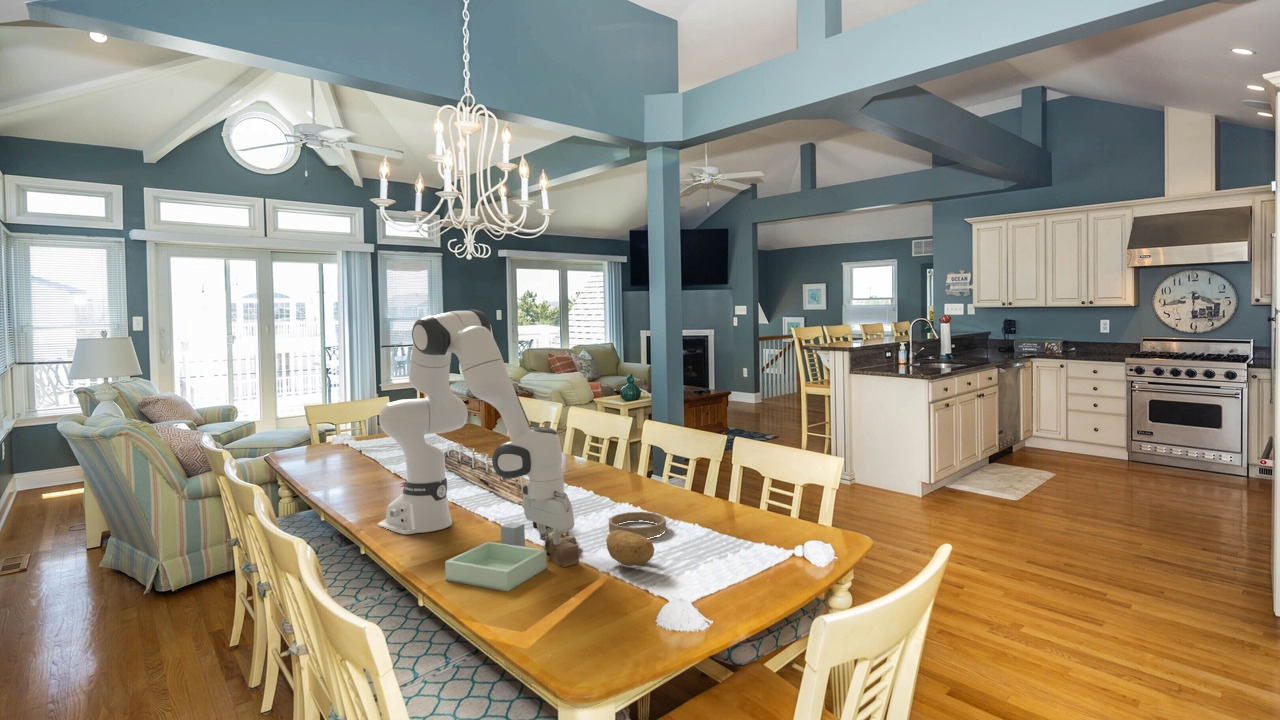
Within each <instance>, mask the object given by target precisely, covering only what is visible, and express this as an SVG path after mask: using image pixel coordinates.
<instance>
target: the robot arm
mask: <svg viewBox="0 0 1280 720" xmlns="http://www.w3.org/2000/svg"><path fill="white" fill-rule="evenodd" d="M491 327H492V326H491V322H490V320H489V318H488V316H487V314H486V313H485V312H483V311H481V310H477V309H467V310H453V311H452V310H451V311H447V312H442V313H438V314H435V315H427V316H423V317H421V318H419V319H417V320H416V321H415V322H414V324H413V327H412V330H411V337H412V342H413V343H412V348H411V354H410V362H409V374H408V381H409V383H410V386H412V388H414V389H415V390H416V391H417V392H420V393H422V394H424V395H427V396H425V397H422V398H421V397H420V398H408V399H407V398H406V399H405V398H404V399H398V400H397V399H396V400H395V401H390V402H387V403H385V404H384V405H383V406H382V408H381V409H380V411H379V414H378V415H379V416H378V423H379V427H380V429H381V430H382V431H383V432H384V434H385V435H387V436H389V437H390V438H392V439H393V440H394V441H396V443H397V444H398V445H399V447H400V448H401V450H402V452H403V455H404V458H405V465H406V466H405V467H406V468H405V469H406V481H405V482H401V483H400V486H399V487H400V488H403V489H402V493H401V494H400V495H399V496H398V497H397V498H395V499H394V500H392V502H390V503H388V506H387V508H386V513H385V519H383V520H381V521H379V522H378V523H377V527H378V526H380V527H379V528H381V527H384V528H386V529H385V530H387V529H389V530H388V531H390V530H391V532H395V533H397V534H401V535H412V534H418V533H430V532H435V531H440V530H444V529H446V528H448V527H450V526H452V525H453V520H452V518H451V517H452V516H451V513H450V507H449V502H448V496H447V493H448V478H447V477H446V458H445V453H444V452H443V450H442V449H440V448H439V447H437V446H435V445H432V444H430V443H427V442H426V440H425V435H431V434H442V433H449V432H453V431H457V430H458V429H462V428H463V427H464V426H465V424H466V422H467V420H468V415H469V412H468V408H467V405H466V403H465V402H464V401H463V400H462V399H461V398H460V397H458V396H456V394H455V393H454V392H453V390H452V388H451V386H450V370H451V369H450V368H451V362H452V353H453V354H455V356H456V357H457V359H458V361H459V365H460V369H461V371H462V375H463V378H464V382H465V384H466V386H467V388H468V389H469V391H470V392H471V395H473V396H474V397H475V398H477V399H479V400H481V401H483V402H486V403H488V404H490V405H491V406H492V407H493V408H494V409H496V410H497V411H498V412H499V415H500V417H501V419H502V421H503V424H504V426H505V428H506V431H507V433H508V435H509V438H510V441H506V442H504V443H502V444H501V445H498V447H496V449H495V450H494V451H493V454H492V456H491V457H492V458H491V464H492V467H493V469H494V472H495V473H496V474H497V475H498V476H499V477H501V478H503V479H510V480H511V479H517V478H519V477H523V476H527V477H528V479H529V481H528V482H529V483H526V484H525V485H521V494H522V495H523V496H522V497H523V499H522V501H523V502H522V503H523V512H524V516H525V519H526V520H527V521H531V522H532V523H533V522H536V523H537V528H538V529H537V530H538V533H539V539H540V541H545V540H548V539H549V537H548V534H549V532H548V531H547V529H546V527H545V526H547V527H550V529H552V532H554V535H553V538H551V540H552V544H554V545H559V544H560V537H561V534H562V532H564V531H568V532H569V531H571V530H573V529H574V527H575V517H574V510H573V505H572V502H571V501H570V499H569V498H568V496H567V494H566V493H565V486H564V485H565V484H564V473H563V471H562V463H563V453H562V445H561V444H562V443H561V438H560V434H559V433H558V431H556V430H555V429H553V428H550V427H546V426H535V427H534V426H533V427H531V426H532V425H531V424H530V421H529V420H528V417H527V414H526V412H525V410H524V407H523V404H522V402H521V400H520V398H519V396H518V394H517V392H516V390H515V388H514V385H513V383H512V381H511V378H510V377H509V373H508V369H507V367H506V364H505V362H504V358H503V356H502V354H501V351H500V349H499V346H498V344H497V341H496V340H495V338H494V336H493V335H492V332H491V331H492V328H491ZM384 528H383V529H384Z"/></svg>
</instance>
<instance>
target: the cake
mask: <svg viewBox="0 0 1280 720" xmlns="http://www.w3.org/2000/svg"><path fill="white" fill-rule="evenodd" d="M569 533H570V532H569V530H568V531H564V532H562V534H561V537H560V541H563V540H565V541H568V542H570V543H573V544H576V545H578V549H579V548H580V546H581V543H580V542H579V541H577V538H576V537H575V536H571V535H570V534H569ZM553 535H554V532H553V531H551V532H548V537H549V539H548V540H545V541H544V545H543V548H542V550H546V554H550V549H549V544H550V543H552V540H551V538H553Z"/></svg>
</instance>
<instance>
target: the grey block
mask: <svg viewBox="0 0 1280 720" xmlns="http://www.w3.org/2000/svg"><path fill="white" fill-rule="evenodd" d="M525 528H526V527H525V523H519V522H513V521H510V522H508V523H506V524H503V525H502V526H500V543H501V544H508V545H515V546H522V547H526V541H525V540H526V538H525V537H526V535H525V534H526V533H525V531H526V530H525Z"/></svg>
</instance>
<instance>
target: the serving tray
mask: <svg viewBox="0 0 1280 720" xmlns="http://www.w3.org/2000/svg"><path fill="white" fill-rule="evenodd" d="M547 565H548V564H547V552H546V550H543V548H542V549H541V548H534V547H527V546H525V547H522V546H515V545H508V544H501V542H494V541H486V542H484V543H482V544H480V545H477V546H475V547H473V548H471V549H469V550H467V551H465V552H463V553H461V554H458V555H456V556H453V557H451V558H449V559H447V560H445V561H444V567H445V581H448V582H453V583H458V584H462V585H469V586H474V587H478V588H479V587H480V588H484V589H490V590H495V591H496V590H497V591H501V592H506V593H508V592H510V591H511V590H513V589H515V588H516V587H518V586H520V585H522V584H523V583H524V582H525V583H526V581H528V580H529V579H531V578H533V577H534V576H536V575H538V574H540V573H541V572H543V571H544V570H546V569H547Z"/></svg>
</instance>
